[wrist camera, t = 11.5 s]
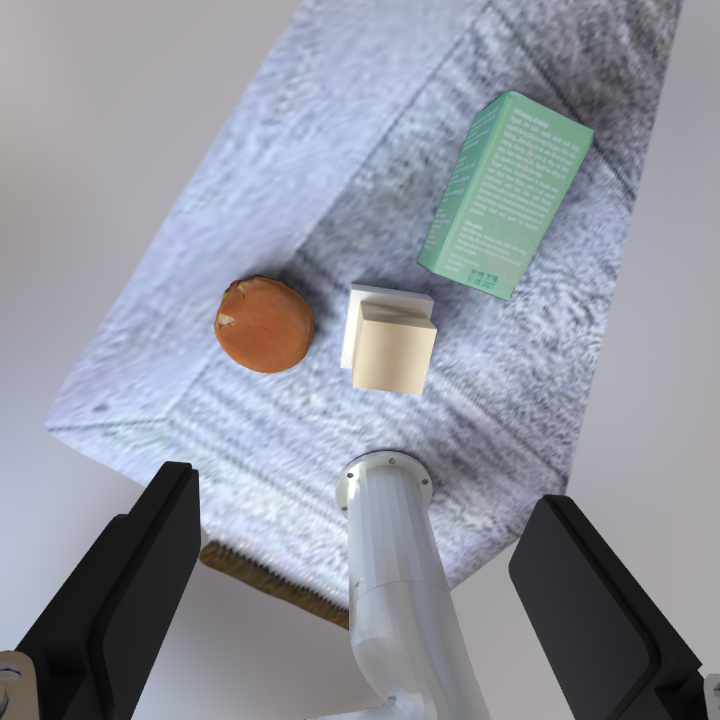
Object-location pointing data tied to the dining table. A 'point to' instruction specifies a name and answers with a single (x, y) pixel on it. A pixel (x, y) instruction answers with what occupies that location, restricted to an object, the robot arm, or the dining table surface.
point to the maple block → (391, 348)
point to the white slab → (378, 297)
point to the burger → (264, 324)
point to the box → (504, 193)
